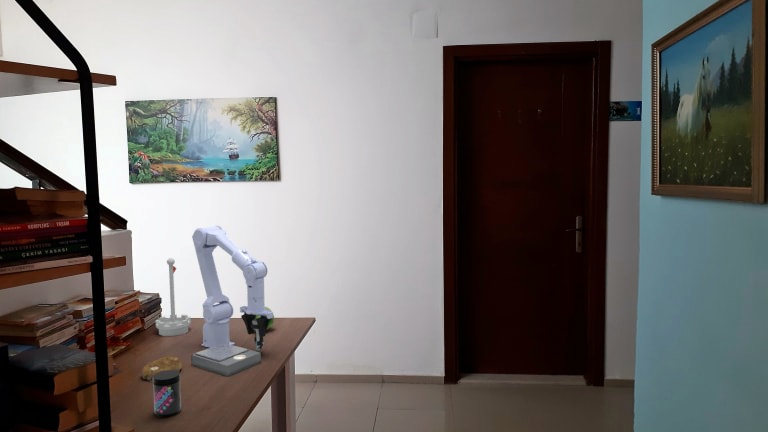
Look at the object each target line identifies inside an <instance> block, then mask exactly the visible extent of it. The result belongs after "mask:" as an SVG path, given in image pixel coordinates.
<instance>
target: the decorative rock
mask: <svg viewBox="0 0 768 432" xmlns="http://www.w3.org/2000/svg"><path fill="white" fill-rule="evenodd" d="M179 361H180V358H179V357H178V356H163V357H160V358H157V359H156V360H154V361H150V362H148V363H147V364H145V366H144V367H143V368H142V369H141V371H140V374H141V377H142V379H143V380H147V381H149V383H153V375H154V374H156V373H158V372H161V371H165V370H177V371H179V372H180V371H181V369H182V368H183V365H182V363H181V362H179Z"/></svg>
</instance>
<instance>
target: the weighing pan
mask: <svg viewBox="0 0 768 432" xmlns="http://www.w3.org/2000/svg"><path fill="white" fill-rule="evenodd" d="M248 349H249V348H245V347H241V346H237V345H235V344H233V345H230V344H226V343H223V344H220V345H217V346H214V347H212V348H209V347H208V348H205V349H203V350H200V351H197V352H195V353H194V354H195V355H197V356H200V357H203V358H207V359H210V360H213V361H216V362H221V361H224V360H226V359H229V358H232V357H234V356H237V355H240V354H242V353H245V352H248Z"/></svg>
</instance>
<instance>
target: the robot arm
mask: <svg viewBox="0 0 768 432" xmlns="http://www.w3.org/2000/svg"><path fill="white" fill-rule="evenodd" d="M226 231H227V230H225V229H224V228H222V226H220V225H214V226H207V227H197V228H196V229H195V230H194V231H193V234H192V236H191V239H192V242H193V246H194V250H195V253H196V254H195V255H196V258H197V263H198V266H199V270H200V275H201V278H202V282H203V286H204V290H205V293H206V299H205V301H204V302H203V303H202V317H203V320H204V321H205V323H204V324H203V326H202V342H203V343H201V346H203V347H206V348H208V349H209V348H212V347H214V346H217V345H220V344H223V343H226V344H230V345H235V344H236V343H235V342H233V341H230V321H231V318H232V316H233V315H234V307H233V305H232V303H231V301H230V299H229V297H228V296H226V295H225V294H223V291H222V288H221V284H220V280H219V276H218V272H217V267H216V264H215V260H214V256H213V252H214V251H215V249H216V248H217V247H219V248H220V249H222V251H225V252H226V253H227V254H228V255H229V256H231V262H232V263H233V264H234V265H236V267H238V268H239V269H240V270H241V271H242V274H243V278H244V280H245V284H246V289H247V291H246V292H247V294H246V295H247V297H246V299H247V305H246V306H245V305H242V306H240V307H239V313H243V314H241V316H240V318H241V319H242V321H243V322H244V325H245V327H246V330H247V334H248V335H249V336H250V335H253V334H255V330H254V329H252V328H251V325H250V323H251V322H252V320H254V319H255V318H256V315H258V316H260V317H259V318H256V321H257V324H258V328H259V336H260V337H261V338H262V337H263V338H264V337H266V333H267V327H268V325H269V322H270V320H271V319H272V318H273V315H274V312H273V311H272V310H271V311H272V312H271V311H269V310H267V309H265V307H266V305H265V277H266V276H267V274H268V267H267V265H266V263H265V262H264V261H259V260H257V259H255V258H254V257H253V256H252V255H250V253H249V252H248V251H247V250H246V249H244V248H242V249H241V248H240V249H239V248H238V246H237V245H235V243H234V242H233V241H232V240H231V239H230V238H229V237H228V236H227V232H226Z"/></svg>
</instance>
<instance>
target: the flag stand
mask: <svg viewBox="0 0 768 432" xmlns="http://www.w3.org/2000/svg"><path fill="white" fill-rule="evenodd" d="M166 263H167V265H168V275H169V276H168V277H169V279H168V280H169V297H170V302H169V303H170V314H169V318H166V316H160V317H159V318H158V319H156V320H155V328H156V329H158V334H159V336H163V337H175V336H180V335H184V334H186V333H188V332H189V326H190V325H191V324H192V320H191V319H192V318H191V316H190V315H188V314H181V316H178V315H177V314H176V307H175V306H176V305H175V304H176V303H175V301H176V300H175V283H174V282H175V280H174V273H175V271H176V270H177V267H176V266H174V265H175V259H174V258H173V257H170V258H168V259H167V260H166Z"/></svg>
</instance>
